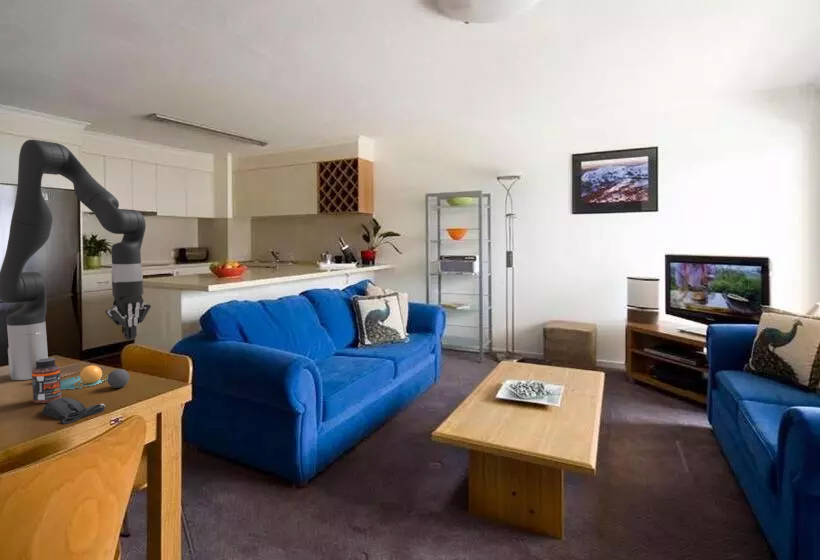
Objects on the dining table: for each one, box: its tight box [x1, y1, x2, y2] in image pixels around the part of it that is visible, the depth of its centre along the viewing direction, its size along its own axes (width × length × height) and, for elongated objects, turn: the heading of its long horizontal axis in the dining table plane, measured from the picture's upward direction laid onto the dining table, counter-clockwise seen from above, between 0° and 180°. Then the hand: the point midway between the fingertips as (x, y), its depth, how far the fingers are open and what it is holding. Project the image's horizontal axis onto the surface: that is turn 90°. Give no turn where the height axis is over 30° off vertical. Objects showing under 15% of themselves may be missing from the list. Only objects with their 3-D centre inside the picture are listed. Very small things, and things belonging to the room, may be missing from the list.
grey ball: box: [106, 368, 130, 389], centre depth 131 cm, size 6×6×6 cm
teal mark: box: [61, 375, 106, 391], centre depth 136 cm, size 14×14×1 cm
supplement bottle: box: [31, 357, 62, 404], centre depth 120 cm, size 6×6×11 cm
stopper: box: [59, 362, 81, 379], centre depth 140 cm, size 2×12×3 cm, turn 162°
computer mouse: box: [41, 397, 106, 425], centre depth 112 cm, size 10×15×4 cm
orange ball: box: [79, 365, 103, 384], centre depth 134 cm, size 6×6×6 cm
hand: (130, 339), depth 128 cm, fingers closed
